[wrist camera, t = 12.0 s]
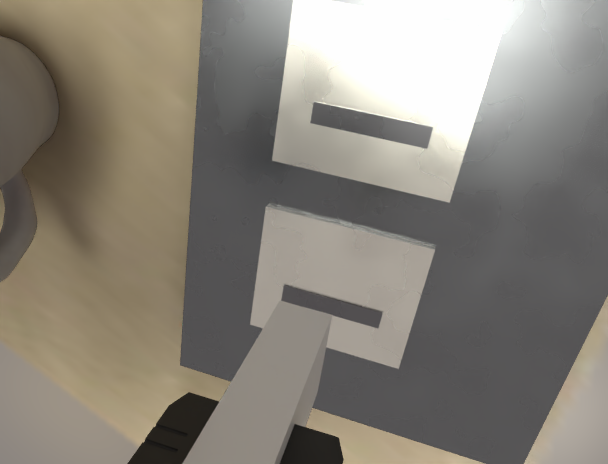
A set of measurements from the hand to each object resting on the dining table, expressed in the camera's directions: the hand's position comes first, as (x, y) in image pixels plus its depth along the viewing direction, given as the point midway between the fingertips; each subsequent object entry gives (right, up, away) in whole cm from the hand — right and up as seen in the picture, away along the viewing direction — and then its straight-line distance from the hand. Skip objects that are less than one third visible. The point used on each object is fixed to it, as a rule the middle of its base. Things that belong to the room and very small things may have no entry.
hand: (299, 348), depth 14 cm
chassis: (+4, +5, +7) cm, 10 cm away
